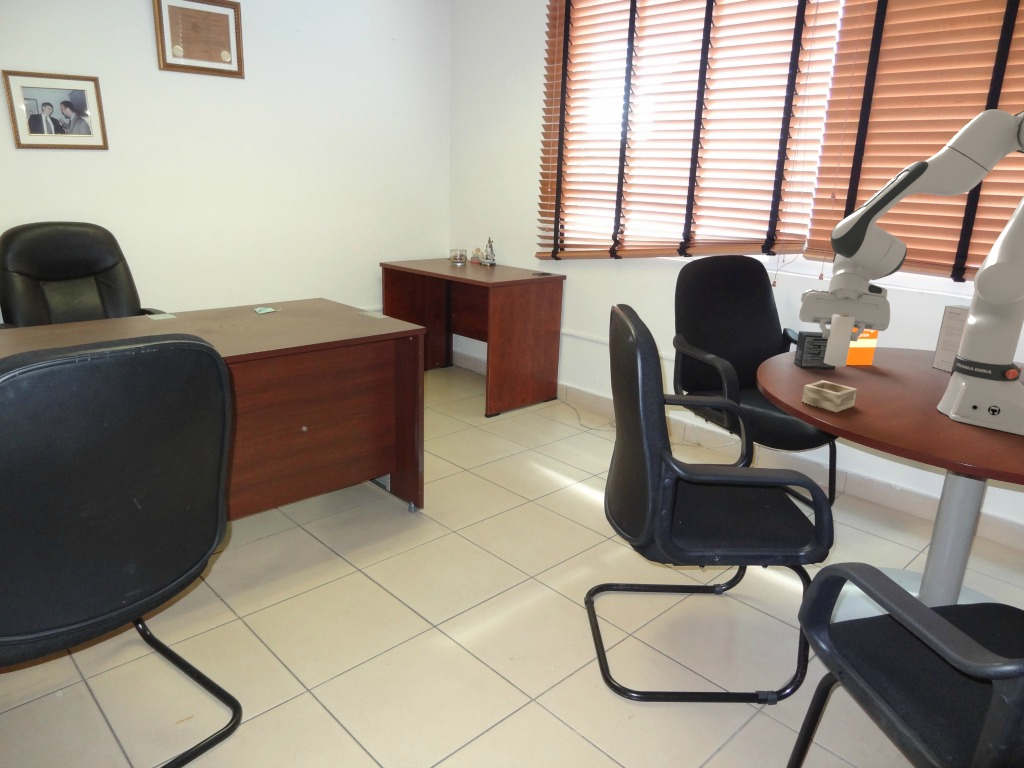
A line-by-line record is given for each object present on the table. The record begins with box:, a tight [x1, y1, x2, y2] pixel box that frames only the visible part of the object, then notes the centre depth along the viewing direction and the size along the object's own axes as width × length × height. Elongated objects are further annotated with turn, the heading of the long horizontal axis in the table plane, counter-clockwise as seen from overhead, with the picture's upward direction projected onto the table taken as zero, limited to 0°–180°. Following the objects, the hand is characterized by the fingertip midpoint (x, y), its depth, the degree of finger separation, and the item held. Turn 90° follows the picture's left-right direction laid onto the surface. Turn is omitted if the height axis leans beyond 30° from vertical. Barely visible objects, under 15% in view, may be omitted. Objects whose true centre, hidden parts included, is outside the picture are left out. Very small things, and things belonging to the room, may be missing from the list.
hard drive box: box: [931, 304, 970, 373], centre depth 200 cm, size 16×8×20 cm, turn 22°
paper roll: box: [824, 314, 855, 367], centre depth 162 cm, size 5×5×12 cm
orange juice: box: [846, 328, 879, 365], centre depth 207 cm, size 8×9×20 cm
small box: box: [793, 330, 836, 371], centre depth 202 cm, size 11×6×10 cm, turn 84°
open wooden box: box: [801, 379, 858, 413], centre depth 166 cm, size 9×9×4 cm
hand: (839, 338), depth 161 cm, fingers closed on paper roll, 5 cm apart
